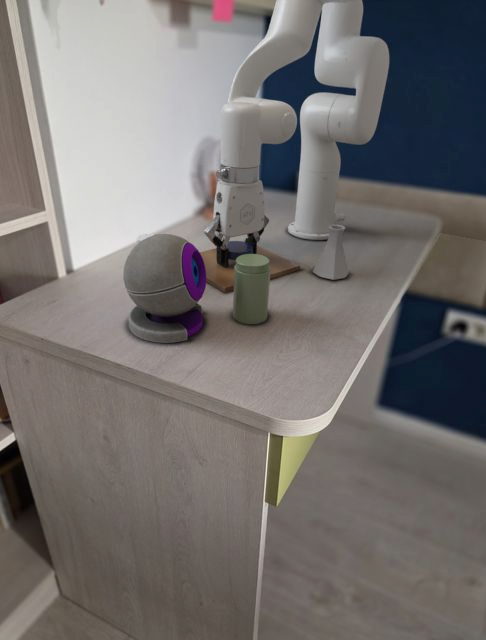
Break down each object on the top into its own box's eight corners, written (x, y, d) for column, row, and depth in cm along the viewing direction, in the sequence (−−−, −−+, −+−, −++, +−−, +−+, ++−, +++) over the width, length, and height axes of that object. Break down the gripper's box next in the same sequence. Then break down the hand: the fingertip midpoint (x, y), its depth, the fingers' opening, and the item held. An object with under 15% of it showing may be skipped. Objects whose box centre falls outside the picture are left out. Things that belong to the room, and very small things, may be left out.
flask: (327, 264, 108) (333, 219, 103) (354, 274, 104) (362, 227, 99) (306, 272, 104) (311, 225, 99) (334, 283, 100) (341, 235, 94)
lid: (240, 263, 100) (240, 255, 99) (214, 254, 103) (214, 246, 102) (259, 253, 105) (259, 246, 104) (233, 246, 108) (234, 238, 107)
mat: (246, 244, 117) (246, 240, 116) (300, 269, 105) (300, 265, 104) (173, 262, 106) (173, 258, 105) (224, 292, 94) (224, 287, 93)
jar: (246, 305, 90) (248, 250, 84) (273, 315, 87) (278, 259, 82) (225, 317, 86) (227, 260, 80) (254, 328, 83) (257, 269, 77)
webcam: (194, 347, 77) (192, 255, 69) (115, 337, 78) (105, 246, 70) (213, 310, 88) (214, 226, 80) (144, 301, 89) (138, 219, 81)
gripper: (214, 183, 88) (213, 277, 97) (286, 173, 98) (279, 259, 107) (191, 175, 93) (192, 264, 102) (261, 166, 103) (256, 248, 112)
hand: (236, 261), depth 105 cm, fingers closed on lid, 6 cm apart
